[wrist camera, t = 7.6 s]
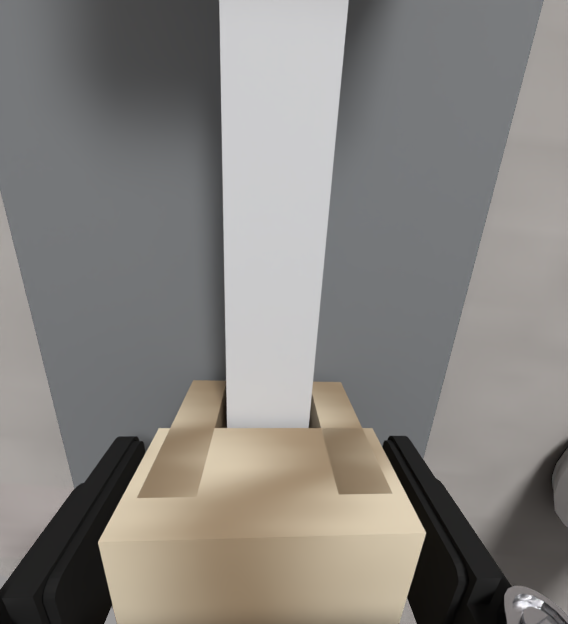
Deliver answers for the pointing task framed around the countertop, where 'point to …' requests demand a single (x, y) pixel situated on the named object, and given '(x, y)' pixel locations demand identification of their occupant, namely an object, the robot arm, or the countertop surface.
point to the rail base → (251, 200)
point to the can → (561, 488)
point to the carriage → (262, 522)
